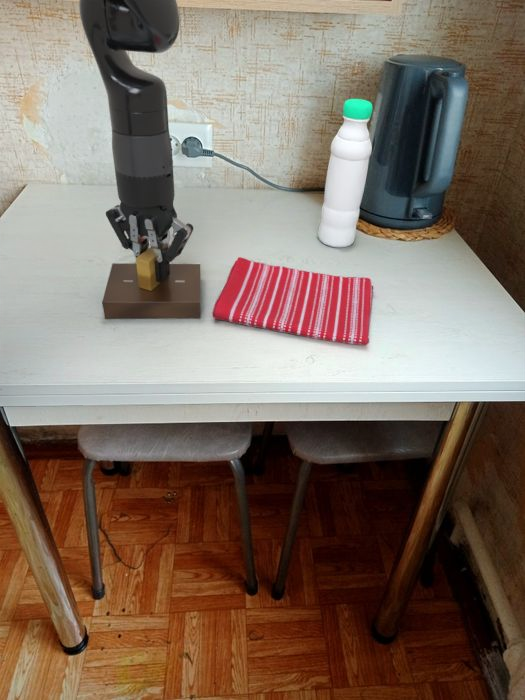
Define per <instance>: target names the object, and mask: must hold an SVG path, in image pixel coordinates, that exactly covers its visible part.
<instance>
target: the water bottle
mask: <svg viewBox="0 0 525 700" xmlns="http://www.w3.org/2000/svg"><path fill="white" fill-rule="evenodd" d="M343 103H344V104H343V109H342V118H343V122H342V123H343V124H342V125H341V126H340V128H339V129H338V130H337V134H335V136H334V137H333V139H332V141H331V143H330V156H329V160H328V166H327V170H326V176H325V177H326V178H325V184H324V185H325V186H324V195H323V203H322V206H321V212H320V222H319V227H318V231H317V232H318V233H317V238H318V239H319V241H320V242H321V243H322V244H324V245H326V246H328V247H332V248H338V249H339V248H346V247H349V246H351V245H352V244H353V243H354V241H355V238H356V233H357V225H358V221H359V217H360V211H361V210H360V206H361V204H362V201H363V195H364V191H365V187H366V180H367V177H368V176H367V175H368V171H369V170H368V169H369V162H370V157H371V155H372V151H373V144H372V140H371V138H370V131H369V128H368V122H369V121H370V119H371V117H372V114H373V103H372V102H370V101H369V100H366V99H362V98H349V99H347V100H345V101H344V102H343Z"/></svg>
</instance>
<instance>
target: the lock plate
mask: <svg viewBox="0 0 525 700" xmlns="http://www.w3.org/2000/svg"><path fill="white" fill-rule="evenodd" d="M169 264H170V275H169V277H168V278H167V279H166V280H164V281H163V282H162V283H160V284H159V285H158V286H156V287H155V288H154V289H153V290H152V291H150V290H146V289H143V288H140V287H139V283H138V274H137V265H136V263H123V262H122V263H119V262H118V263H117V262H116V263H112V264H111V267H110V272H109V275H108V278H107V284H106V286H105V290H104V294H103V296H102V297H103V298H102V301H101V304H102V309H103V315H104V319H105V320H138V319H139V320H146V319H147V320H149V319H150V320H151V319H153V320H154V319H155V320H156V319H159V320H160V319H161V320H162V319H163V320H165V319H170V320H171V319H172V320H173V319H201V314H202V313H201V312H202V311H201V310H202V309H201V305H202V303H201V297H202V296H201V294H202V293H201V292H202V291H201V290H202V287H201V286H202V277H201V270H202V269H201V263H169Z"/></svg>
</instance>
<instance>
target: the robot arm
mask: <svg viewBox="0 0 525 700" xmlns="http://www.w3.org/2000/svg"><path fill="white" fill-rule="evenodd" d="M78 7H79V8H78V9H79V16H80V22H81V26H82V28H83V32H84V35H85V38H86V40H87V43H88V45H89V47H90V50H91V52H92V55H93V57H94V60H95V62H96V66H97V68H98V71H99V75H100V77H101V81H102V83H103V85H104V88H105V91H106V95H107V103H108V111H109V112H108V113H109V120H110V127H111V150H112V159H113V167H114V173H115V174H114V175H115V181H116V190H117V196H118V200H119V201H120V203H119V204H116V205H115V206H113V207H111V208H110V209H108V210H106V211H105V216H106V218H107V220H108V222H109V224H110V225H111V227H112V229H113V231H114V234H115V235H116V237H117V239H118V240H119V242H120V244H121V246H122V247H123V249H124V250H130V251H132V253H133V255H134V257H135V258H136V257H138V256H139V255H140V254H142V253H143V252H145V251H146V250H147V249H149V248H150V247H152V248H153V250H154V255H155V259H156V260H155V261H154V263H155V274H156V281H157V282H159V283H162V282H163V281H164V280H166V279H167V278H168V277H169V275H170V264H171V262H172V261H174V260H175V259H176V258H177V257H179V256H180V255H181V254H182V252H183V250H184V249H185V246H186V244H187V243H188V241H189V239H190V237H191V235H192V233H193V232H194V226H193V224H191V223H189V222H188V223H186V224H185V223H184V222H182V221H181V220H180V219H178V214H177V211H176V209H175V207H174V201H175V179H174V159H173V146H172V140H171V139H172V138H171V135H170V128H169V127H170V126H169V111H168V110H169V109H168V94H167V92H168V91H167V87H166V84H165V82H164V81H163V79H161V78H160V77H159V76H157V75H155V74H153V73H150V72H148V71H145V70H142V69H140V68H139V67H138V66H136V65H135V64H134V63H133V61H132V60H131V58H130V56H129V54H128V52H136V53H144V54H152V55H153V54H155V55H156V54H162V53H165V52H167V51H169V50H170V49H171V48H172V47H173V45H174V44H175V43H176V41H177V38H178V37H179V36H178V35H179V31H180V21H181V20H180V11H179V7H178V1H177V0H79V1H78ZM171 228H172V234H171V233H170V232H171V231H170V230H171ZM171 235H172V237H173V239H172V241H171ZM170 242H171V244H170Z"/></svg>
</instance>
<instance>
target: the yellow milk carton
mask: <svg viewBox="0 0 525 700" xmlns="http://www.w3.org/2000/svg"><path fill="white" fill-rule="evenodd" d="M155 260H156V259H155V255H154V250H153V248H152V247H151V246H149V248H148V249H147V250H146V251H145V252H143V253H142V254H140V255H139V256H138V257H135V264H136V265H137V274H138V283H139V287H140V288H143V289H146V290H150V291H152V290H153V289H154V288H155V287H156V286H158V285H159V284H160V283H159V282H157V281H156V274H155V263H154V261H155Z"/></svg>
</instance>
